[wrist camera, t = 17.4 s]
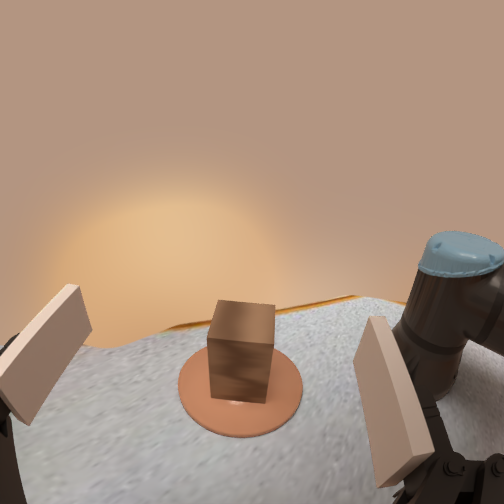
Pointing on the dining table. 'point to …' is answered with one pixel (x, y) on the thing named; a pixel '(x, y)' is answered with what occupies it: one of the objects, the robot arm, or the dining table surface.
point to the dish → (234, 412)
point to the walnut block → (240, 351)
